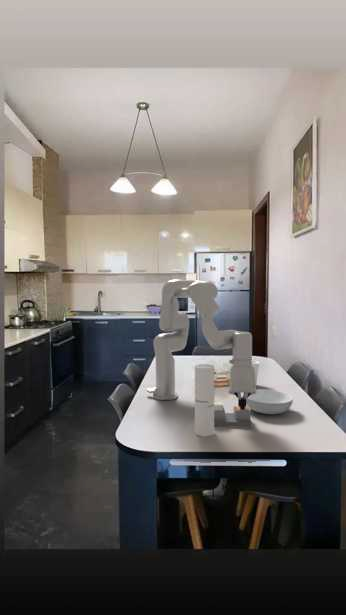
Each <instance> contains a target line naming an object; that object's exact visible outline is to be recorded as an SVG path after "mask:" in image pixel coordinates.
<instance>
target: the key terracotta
mask: <svg viewBox="0 0 346 615" xmlns="http://www.w3.org/2000/svg"><path fill="white" fill-rule="evenodd" d="M235 406H236V411H248V408H249V407H248V408H247V405H246V407H245V409H240V407H239V406H237V405H235Z"/></svg>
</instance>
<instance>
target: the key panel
mask: <svg viewBox="0 0 346 615" xmlns="http://www.w3.org/2000/svg"><path fill="white" fill-rule="evenodd" d="M236 406H237V405H235V406H233V412H226V411H225V406H223V411H214V428H215V427H217V428H252V426H253V424H252V423H253V422H252V420H251V408H249V407H248V406H247V405H246V406H247V408H248V411H236Z"/></svg>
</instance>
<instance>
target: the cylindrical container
mask: <svg viewBox="0 0 346 615" xmlns="http://www.w3.org/2000/svg"><path fill="white" fill-rule="evenodd" d="M214 402H215V365H213V364H207V363H201V364H200V363H199V364H195V365H194V433H195V434H196V435H197V436H200V437H210V436H213V435H214V434H215V427H214Z"/></svg>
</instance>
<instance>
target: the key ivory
mask: <svg viewBox="0 0 346 615" xmlns="http://www.w3.org/2000/svg"><path fill="white" fill-rule="evenodd" d="M223 407H224V404H223V402H222V401H214V411H223Z"/></svg>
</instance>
